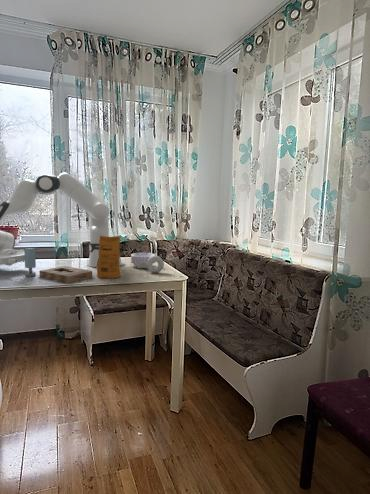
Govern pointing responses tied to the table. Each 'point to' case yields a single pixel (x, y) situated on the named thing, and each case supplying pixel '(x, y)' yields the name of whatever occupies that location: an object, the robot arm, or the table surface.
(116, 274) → the coffee package
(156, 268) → the donut
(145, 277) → the table surface
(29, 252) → the keyhole peg
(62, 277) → the keyhole board
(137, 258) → the paper bowls
